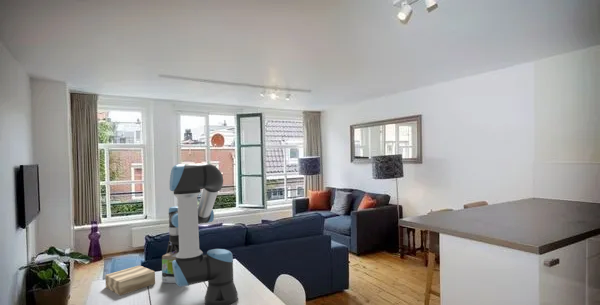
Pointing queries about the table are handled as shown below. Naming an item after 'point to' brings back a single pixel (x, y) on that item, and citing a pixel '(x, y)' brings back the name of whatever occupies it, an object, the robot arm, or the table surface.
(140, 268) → the oak block
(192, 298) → the table surface
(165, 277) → the tea box
